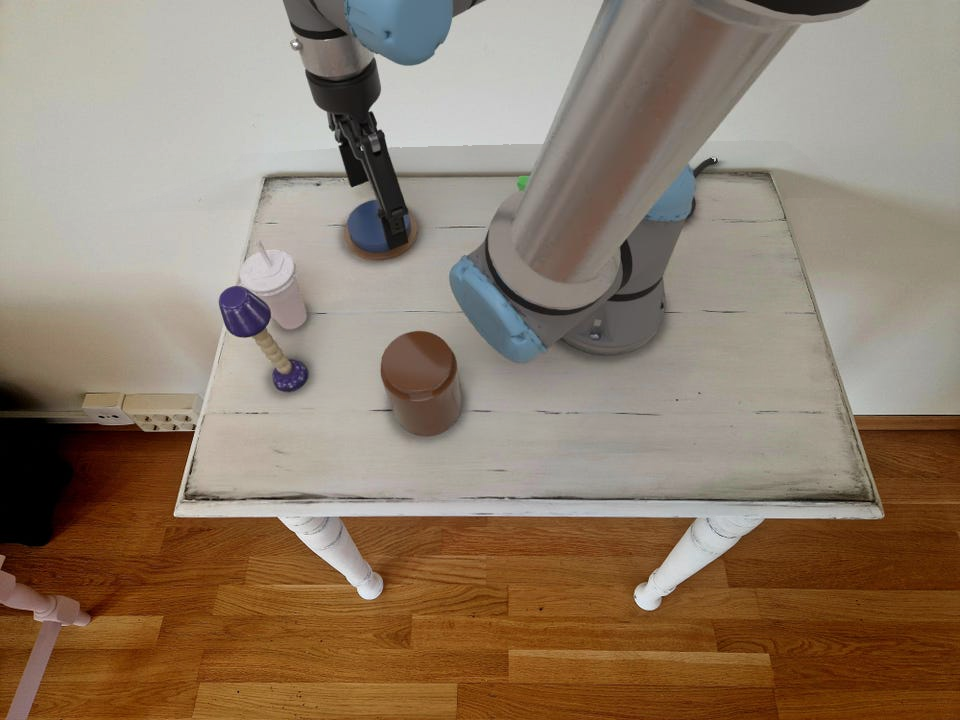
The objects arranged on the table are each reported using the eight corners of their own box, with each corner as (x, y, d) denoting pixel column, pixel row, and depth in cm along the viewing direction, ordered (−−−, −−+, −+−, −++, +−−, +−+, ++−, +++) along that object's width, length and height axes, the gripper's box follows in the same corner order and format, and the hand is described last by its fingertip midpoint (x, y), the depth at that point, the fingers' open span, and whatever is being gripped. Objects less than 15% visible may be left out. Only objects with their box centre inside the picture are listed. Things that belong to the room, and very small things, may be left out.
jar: (443, 365, 70) (435, 316, 61) (473, 417, 66) (469, 373, 57) (383, 393, 68) (365, 347, 59) (410, 448, 65) (397, 407, 56)
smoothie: (326, 318, 74) (293, 244, 62) (284, 346, 72) (242, 276, 60) (299, 289, 77) (262, 213, 65) (258, 316, 74) (212, 242, 62)
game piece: (544, 213, 83) (547, 180, 78) (518, 223, 82) (519, 191, 77) (528, 194, 85) (531, 161, 80) (503, 204, 84) (504, 172, 79)
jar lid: (362, 261, 78) (360, 253, 77) (340, 221, 82) (337, 212, 81) (420, 238, 80) (419, 230, 78) (396, 199, 84) (394, 191, 83)
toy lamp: (297, 399, 68) (243, 319, 54) (262, 390, 69) (200, 309, 54) (313, 366, 70) (267, 280, 56) (279, 357, 71) (224, 271, 57)
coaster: (399, 197, 85) (399, 194, 85) (429, 243, 80) (429, 240, 80) (334, 222, 83) (333, 219, 82) (361, 271, 78) (360, 268, 77)
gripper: (269, 17, 65) (321, 168, 83) (349, 139, 53) (388, 285, 71) (331, -2, 66) (368, 151, 84) (422, 113, 55) (442, 262, 73)
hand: (378, 212), depth 78 cm, fingers open, 13 cm apart
